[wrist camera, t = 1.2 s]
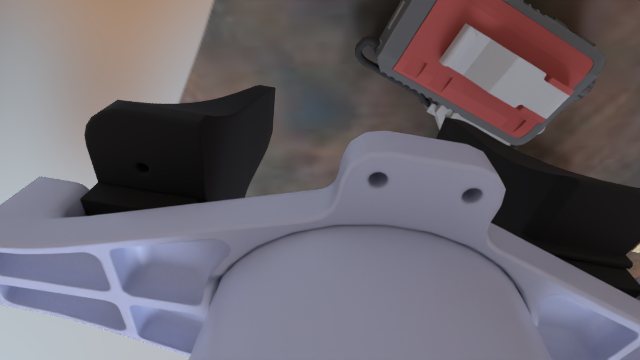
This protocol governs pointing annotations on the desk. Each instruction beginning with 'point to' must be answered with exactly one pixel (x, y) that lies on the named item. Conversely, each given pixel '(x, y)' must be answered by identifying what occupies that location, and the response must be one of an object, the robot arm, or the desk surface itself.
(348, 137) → the desk surface
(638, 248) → the tape line
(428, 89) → the walkie-talkie
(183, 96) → the desk surface
